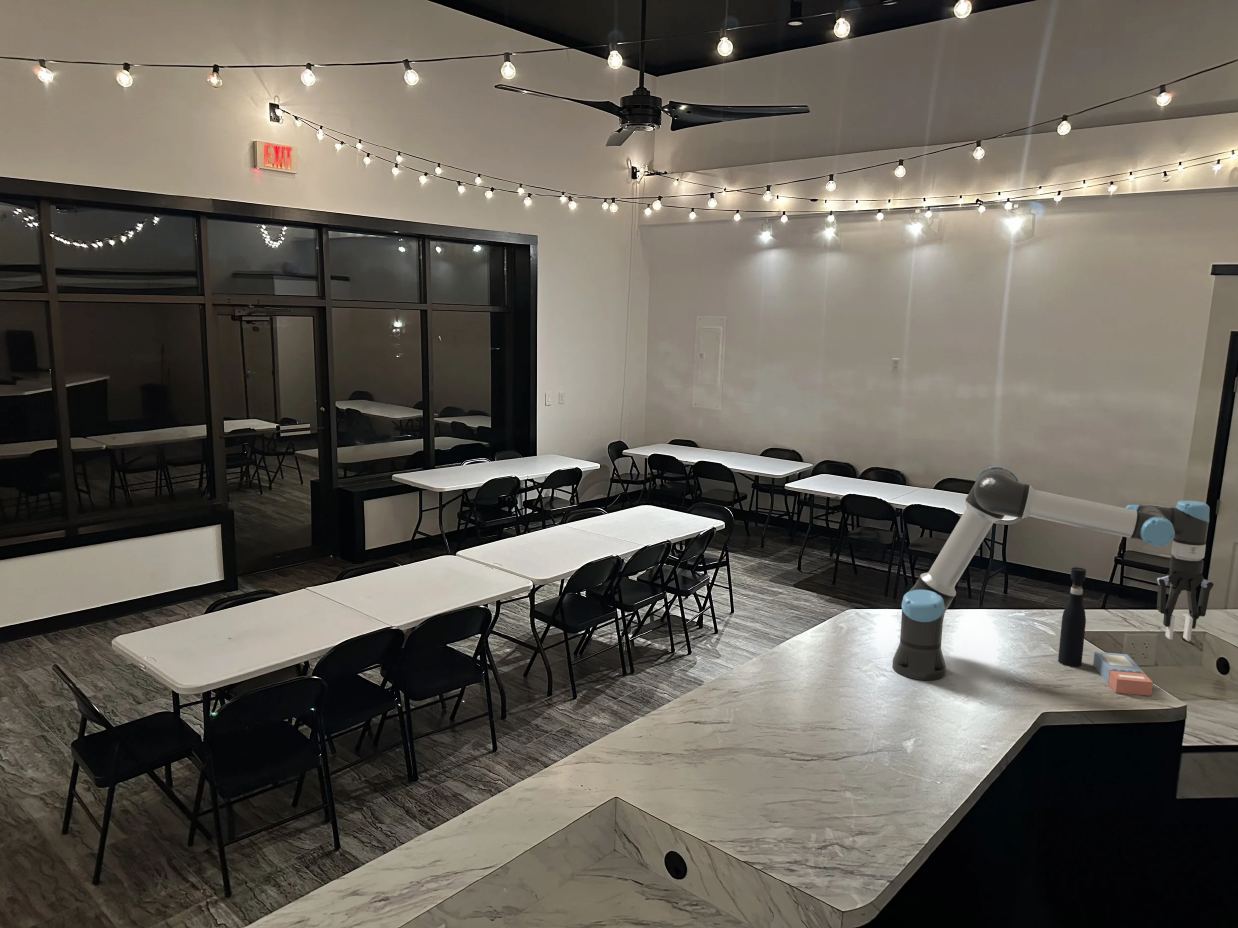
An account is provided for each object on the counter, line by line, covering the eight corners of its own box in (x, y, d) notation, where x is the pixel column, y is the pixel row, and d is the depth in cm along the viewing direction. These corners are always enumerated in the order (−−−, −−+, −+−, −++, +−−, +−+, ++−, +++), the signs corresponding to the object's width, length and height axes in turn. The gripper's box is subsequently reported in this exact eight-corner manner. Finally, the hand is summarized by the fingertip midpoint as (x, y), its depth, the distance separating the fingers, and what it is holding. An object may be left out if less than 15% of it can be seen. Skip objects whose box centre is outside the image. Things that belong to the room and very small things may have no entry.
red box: (1115, 692, 233) (1117, 678, 233) (1108, 683, 239) (1110, 670, 238) (1151, 695, 231) (1152, 681, 230) (1143, 686, 237) (1144, 673, 236)
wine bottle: (1085, 667, 251) (1095, 572, 246) (1064, 666, 251) (1073, 572, 246) (1074, 658, 257) (1083, 566, 252) (1054, 658, 257) (1062, 565, 253)
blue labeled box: (1108, 683, 239) (1109, 669, 239) (1092, 664, 253) (1094, 651, 252) (1142, 686, 237) (1144, 672, 237) (1125, 667, 251) (1127, 654, 250)
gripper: (1158, 558, 224) (1149, 640, 228) (1228, 563, 221) (1218, 646, 224) (1147, 551, 232) (1139, 630, 235) (1216, 555, 228) (1205, 636, 232)
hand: (1177, 638), depth 230 cm, fingers open, 4 cm apart
